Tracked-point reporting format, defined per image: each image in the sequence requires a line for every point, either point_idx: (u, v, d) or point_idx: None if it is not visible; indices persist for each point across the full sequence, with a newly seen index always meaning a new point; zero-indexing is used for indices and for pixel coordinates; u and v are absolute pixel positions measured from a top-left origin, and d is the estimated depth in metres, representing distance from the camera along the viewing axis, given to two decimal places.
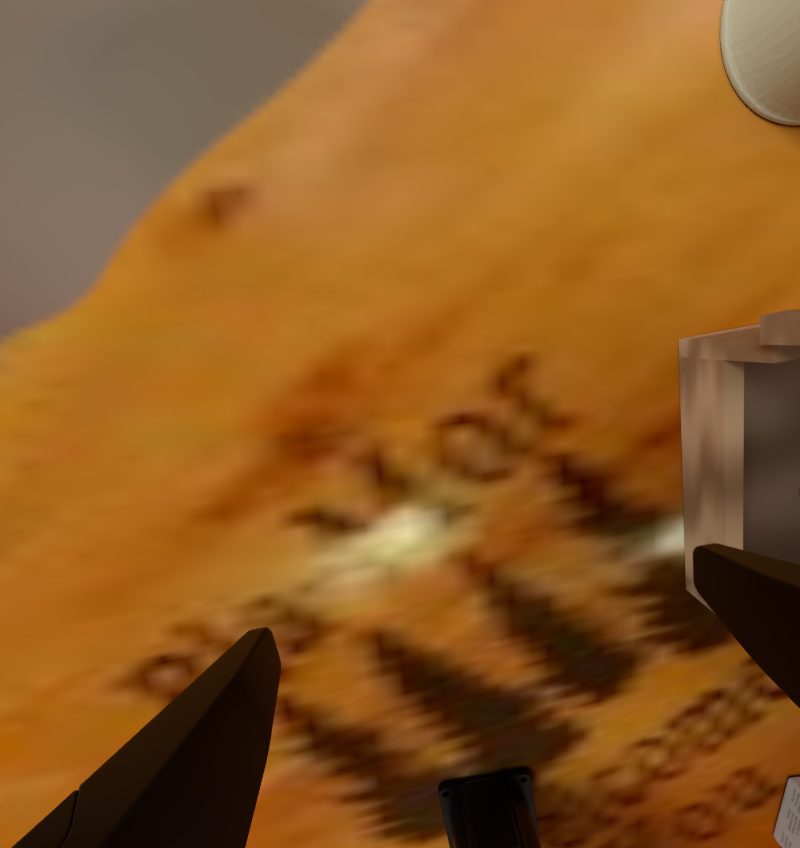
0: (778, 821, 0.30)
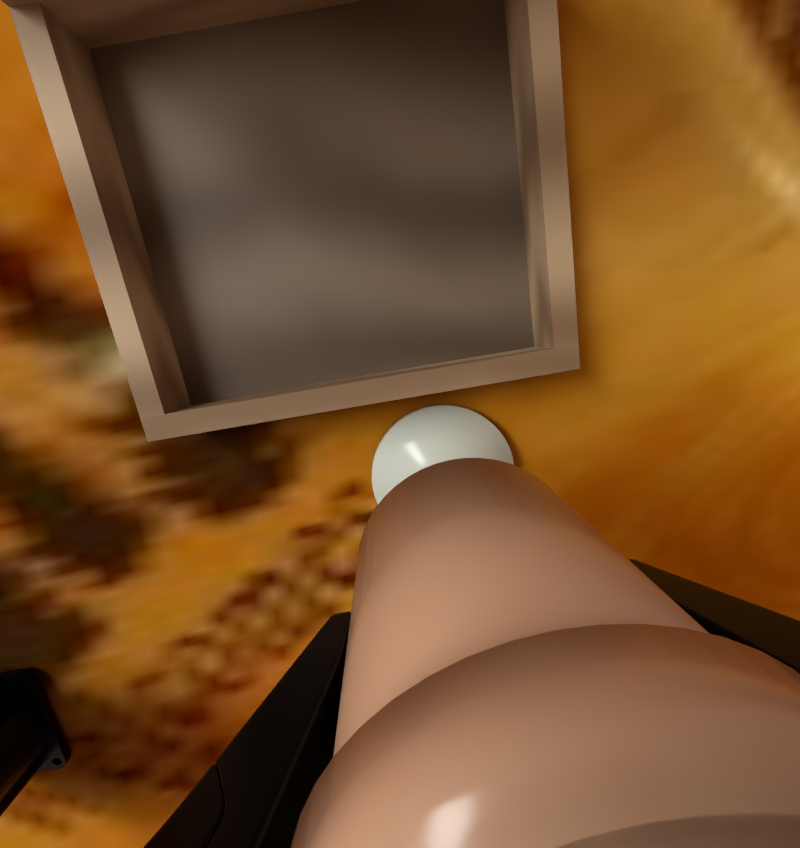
0: None
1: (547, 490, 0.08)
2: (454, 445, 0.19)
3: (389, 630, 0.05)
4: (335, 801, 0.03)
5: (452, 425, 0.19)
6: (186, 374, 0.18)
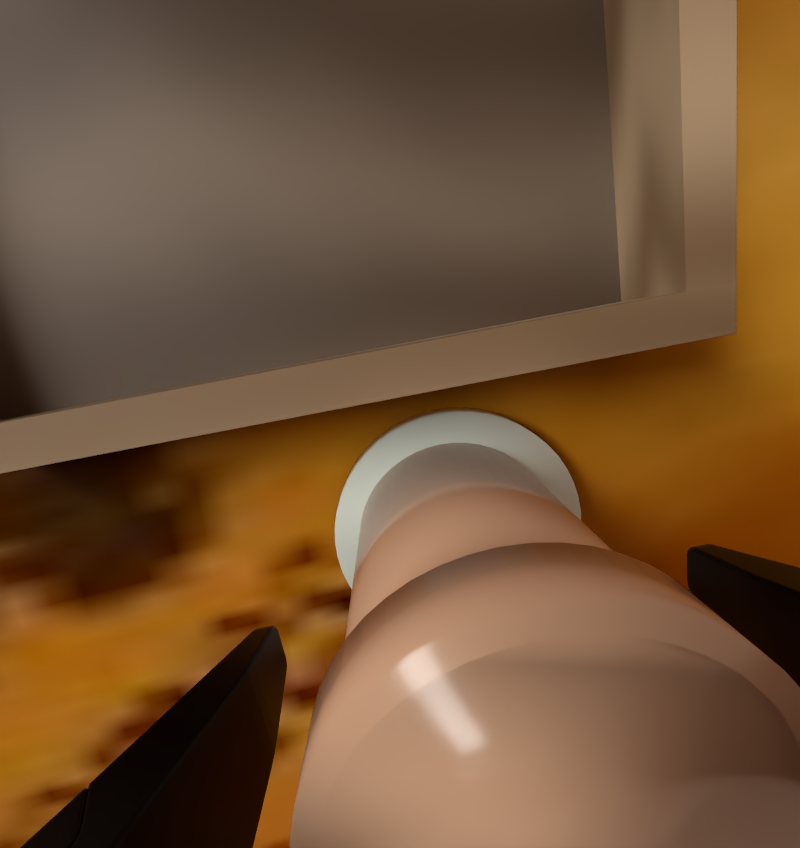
0: None
1: (521, 468, 0.10)
2: None
3: (385, 566, 0.06)
4: (346, 660, 0.05)
5: None
6: None
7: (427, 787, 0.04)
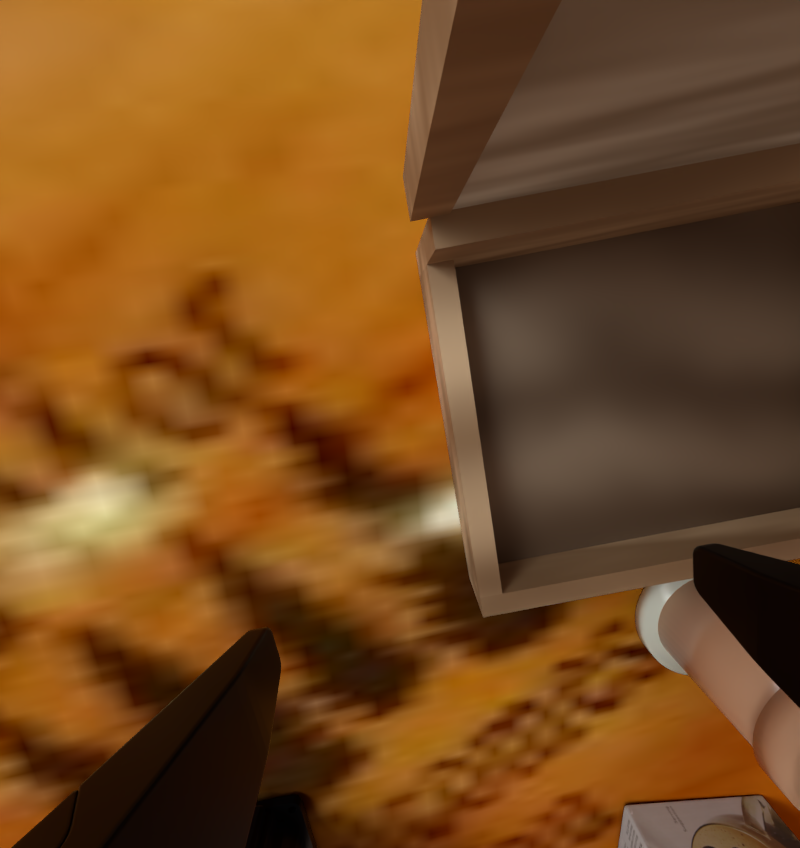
0: None
1: None
2: None
3: None
4: (790, 700, 0.14)
5: None
6: None
7: None
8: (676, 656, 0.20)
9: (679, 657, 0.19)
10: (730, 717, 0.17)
